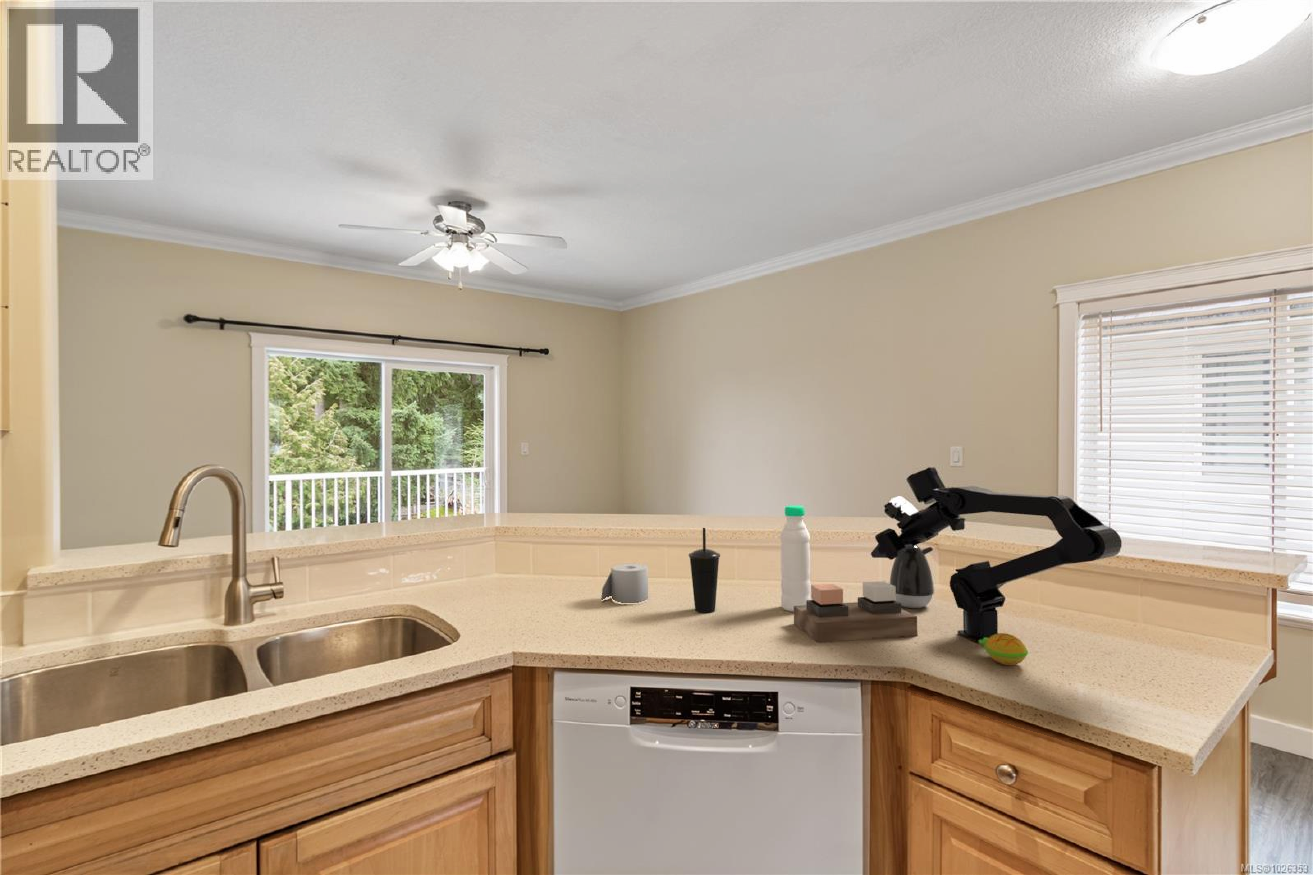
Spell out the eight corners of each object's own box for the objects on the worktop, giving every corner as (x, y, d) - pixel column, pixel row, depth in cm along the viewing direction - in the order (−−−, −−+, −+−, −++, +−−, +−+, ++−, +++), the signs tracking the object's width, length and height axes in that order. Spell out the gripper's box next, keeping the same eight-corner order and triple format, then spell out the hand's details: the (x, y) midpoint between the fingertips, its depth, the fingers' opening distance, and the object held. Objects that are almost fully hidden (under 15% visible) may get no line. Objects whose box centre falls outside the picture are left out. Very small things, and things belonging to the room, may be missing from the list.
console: (917, 635, 131) (916, 606, 131) (817, 642, 127) (817, 612, 127) (885, 618, 143) (884, 591, 143) (793, 623, 140) (793, 596, 140)
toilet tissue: (593, 603, 160) (592, 569, 160) (632, 594, 169) (632, 562, 169) (615, 610, 153) (615, 575, 153) (655, 600, 162) (654, 567, 162)
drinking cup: (720, 606, 155) (719, 525, 155) (720, 615, 148) (719, 530, 148) (690, 605, 156) (689, 525, 156) (688, 614, 148) (687, 530, 148)
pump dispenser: (942, 611, 148) (941, 547, 149) (898, 611, 149) (898, 547, 149) (924, 600, 159) (923, 540, 159) (883, 600, 159) (882, 540, 159)
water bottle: (811, 613, 148) (810, 507, 148) (781, 612, 149) (779, 507, 149) (810, 605, 155) (809, 504, 155) (781, 604, 156) (780, 504, 156)
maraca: (995, 671, 111) (995, 641, 111) (972, 651, 121) (971, 624, 121) (1036, 672, 110) (1036, 641, 110) (1009, 652, 120) (1008, 624, 120)
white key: (895, 600, 134) (895, 586, 134) (873, 601, 133) (873, 587, 133) (883, 594, 139) (883, 581, 139) (862, 595, 138) (862, 582, 138)
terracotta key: (843, 603, 132) (842, 589, 132) (820, 604, 132) (820, 590, 132) (832, 597, 137) (832, 583, 137) (811, 598, 136) (811, 584, 136)
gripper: (930, 480, 147) (885, 511, 158) (886, 500, 136) (840, 531, 147) (960, 521, 143) (911, 549, 154) (916, 545, 132) (867, 573, 143)
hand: (883, 549), depth 150 cm, fingers open, 9 cm apart
